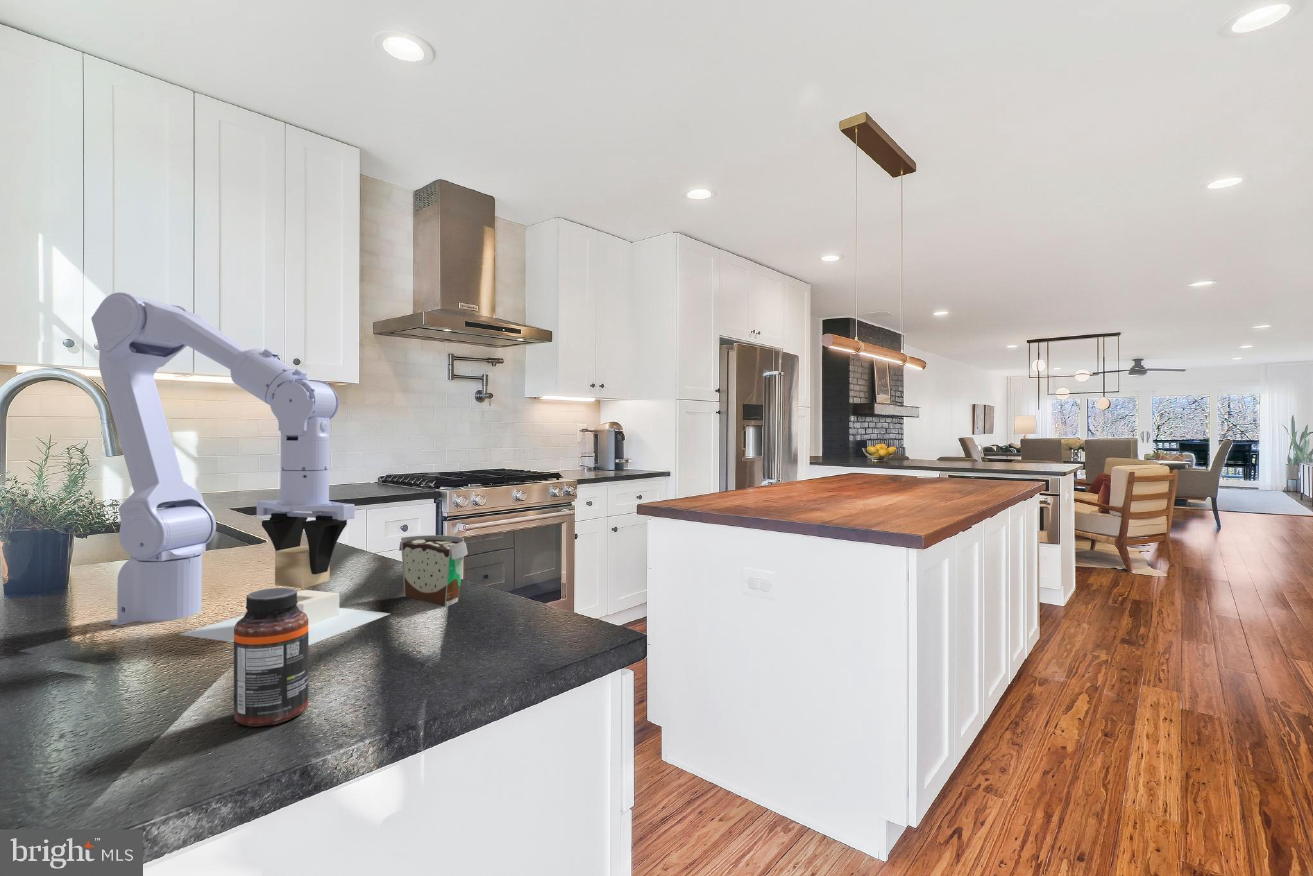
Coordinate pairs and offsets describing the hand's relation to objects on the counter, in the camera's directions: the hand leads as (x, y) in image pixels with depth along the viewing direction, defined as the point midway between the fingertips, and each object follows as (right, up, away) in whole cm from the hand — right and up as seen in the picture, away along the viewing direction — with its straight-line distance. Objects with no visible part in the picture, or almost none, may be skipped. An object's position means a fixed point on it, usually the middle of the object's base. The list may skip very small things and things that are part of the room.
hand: (304, 571), depth 85 cm
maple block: (0, -2, 0) cm, 2 cm away
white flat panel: (-1, -7, -2) cm, 8 cm away
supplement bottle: (+12, -8, -27) cm, 30 cm away
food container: (+14, -8, +12) cm, 20 cm away
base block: (0, -6, 0) cm, 6 cm away
